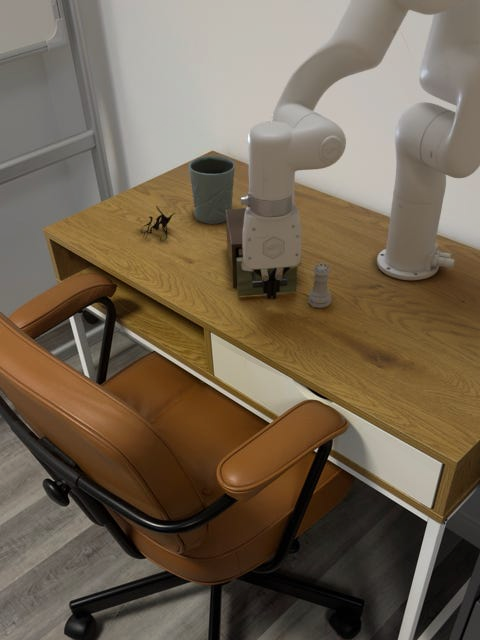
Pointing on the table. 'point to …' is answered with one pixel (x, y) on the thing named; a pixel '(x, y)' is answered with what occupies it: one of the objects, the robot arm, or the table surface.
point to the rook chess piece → (320, 287)
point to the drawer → (254, 283)
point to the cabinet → (234, 237)
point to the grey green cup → (212, 187)
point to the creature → (163, 221)
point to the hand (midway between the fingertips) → (271, 295)
